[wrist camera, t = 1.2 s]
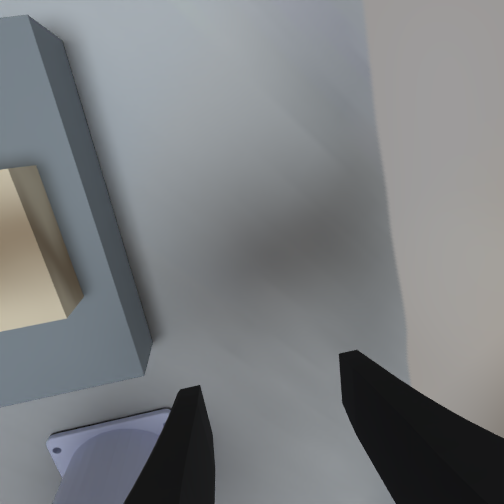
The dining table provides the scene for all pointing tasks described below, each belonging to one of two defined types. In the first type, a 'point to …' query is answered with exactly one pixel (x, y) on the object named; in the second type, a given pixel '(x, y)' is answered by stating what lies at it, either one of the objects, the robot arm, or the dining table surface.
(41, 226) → the birch tile
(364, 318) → the dining table surface
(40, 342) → the bench plate
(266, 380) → the dining table surface
